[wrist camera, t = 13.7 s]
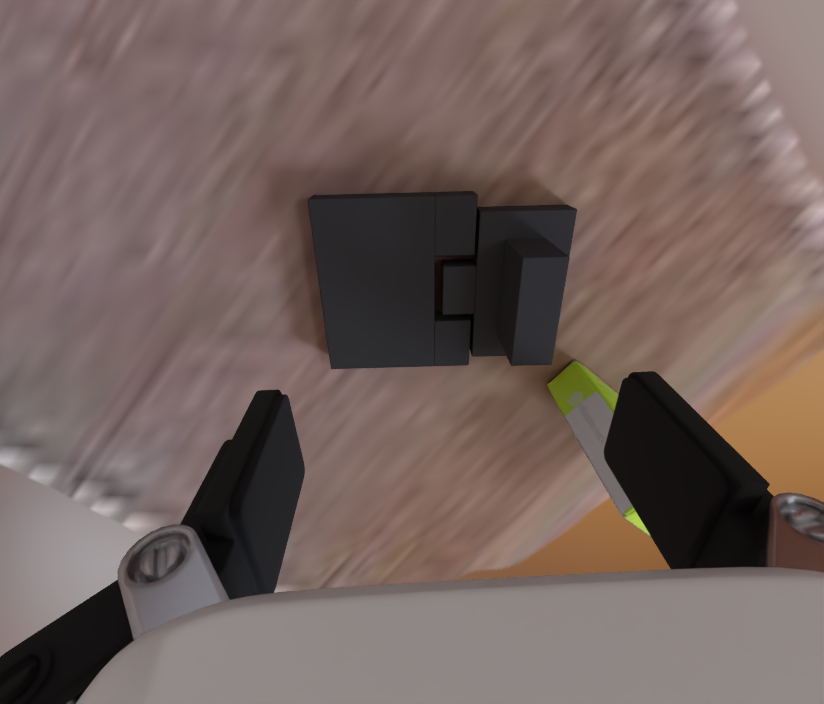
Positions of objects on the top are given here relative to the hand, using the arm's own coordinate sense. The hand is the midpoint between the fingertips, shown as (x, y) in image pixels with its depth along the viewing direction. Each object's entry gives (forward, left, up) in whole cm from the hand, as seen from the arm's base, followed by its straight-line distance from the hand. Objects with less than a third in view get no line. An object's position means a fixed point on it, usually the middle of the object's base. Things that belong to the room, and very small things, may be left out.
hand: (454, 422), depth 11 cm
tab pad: (+4, +6, -23) cm, 24 cm away
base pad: (+4, -2, -23) cm, 24 cm away
